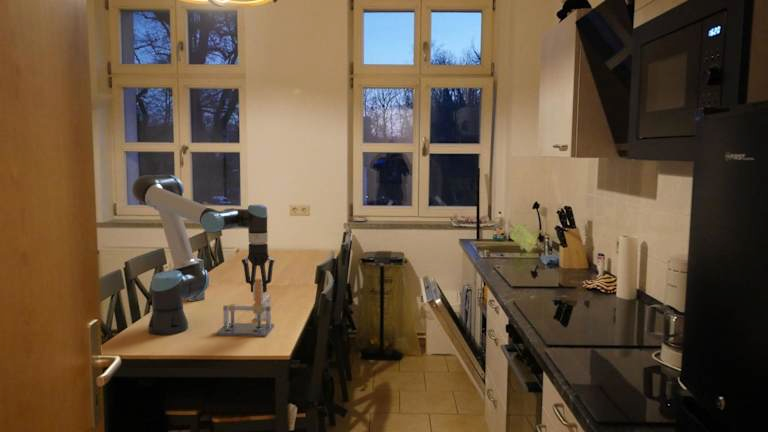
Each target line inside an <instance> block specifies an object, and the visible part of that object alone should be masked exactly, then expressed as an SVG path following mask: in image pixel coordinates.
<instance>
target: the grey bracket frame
mask: <svg viewBox="0 0 768 432" xmlns="http://www.w3.org/2000/svg"><path fill="white" fill-rule="evenodd" d="M253 306H254V305H237V304H236V303H231V304H227V305H225V304H224V305H223V326H224V327H228V326H229V323H231V327H234V326H235V323H236V322H235V312H236V311H243V312H244V311H245V312H246V311H247V312H248V311H251V312H252V311H253ZM263 311H266V319H265V324H266V328H270V327H271V324H272V321H271V319H272V316H271V315H272V313H271V311H272V309H271V310H270V306H263ZM229 312H230V322H229ZM253 312H254V311H253Z"/></svg>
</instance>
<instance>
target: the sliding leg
mask: <svg viewBox="0 0 768 432" xmlns="http://www.w3.org/2000/svg"><path fill="white" fill-rule="evenodd" d="M262 284H263V283H262V278H255V301H254V303H253V305H252V306H253V314H255V313H257V319H256V320H257V324H258V326H261V324H262V320H261V314H263V312H264V311H263V306H265V304H264V302H263V301H261V285H262Z"/></svg>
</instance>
